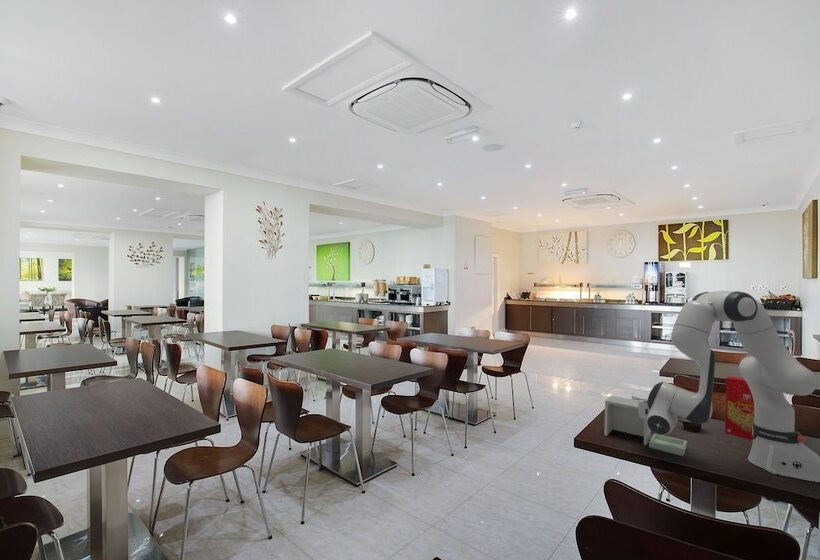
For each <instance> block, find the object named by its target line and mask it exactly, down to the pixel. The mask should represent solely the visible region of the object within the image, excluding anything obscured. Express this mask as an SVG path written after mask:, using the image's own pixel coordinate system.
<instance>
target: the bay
mask: <svg viewBox="0 0 820 560" xmlns="http://www.w3.org/2000/svg"><path fill="white" fill-rule="evenodd" d="M638 401H639V400H633V399H632V398H626V397H622V396H616V395H610V396H609V397H608V398H607V399H605V400H604V432H603V433H604V434H603V435H604V436H606V437H607V436H608V435H609V434H610V433H611V432H612V431H617V432H622V433H625V432H626V433H627V434H629V435H630V434H631V435H634V436H638V435H639V437H642V436H643V445H644V446H647V445H649V440H650V439H651V438H652V431H651V430H650V429H649V428H648V426H647V422H646V419H643V418H640V417H639V412H638Z"/></svg>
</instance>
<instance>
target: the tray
mask: <svg viewBox="0 0 820 560" xmlns="http://www.w3.org/2000/svg"><path fill="white" fill-rule="evenodd" d="M649 448H650V449H653V450H658V451H661V452H665V453H669V454H673V455H676V456H677V455H678V456H681V457H684V456H685V453H686V451H687V448H688V441H687V440H684V439H681V438H675V437H671V436H666V435H658V434H655V433H653V434H652V435H651V439H650V441H649V442H648V449H649Z"/></svg>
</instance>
